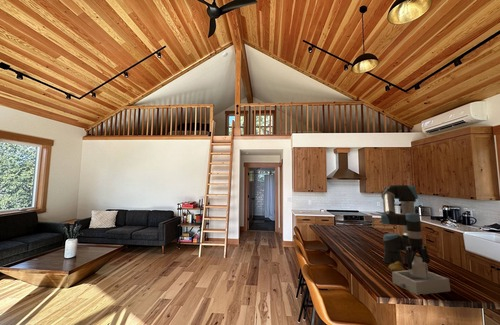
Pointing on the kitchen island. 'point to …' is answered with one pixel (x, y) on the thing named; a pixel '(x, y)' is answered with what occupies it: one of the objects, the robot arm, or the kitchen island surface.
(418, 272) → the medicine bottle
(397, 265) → the bread roll
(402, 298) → the kitchen island surface
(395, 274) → the grey rectangular tray
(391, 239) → the robot arm
